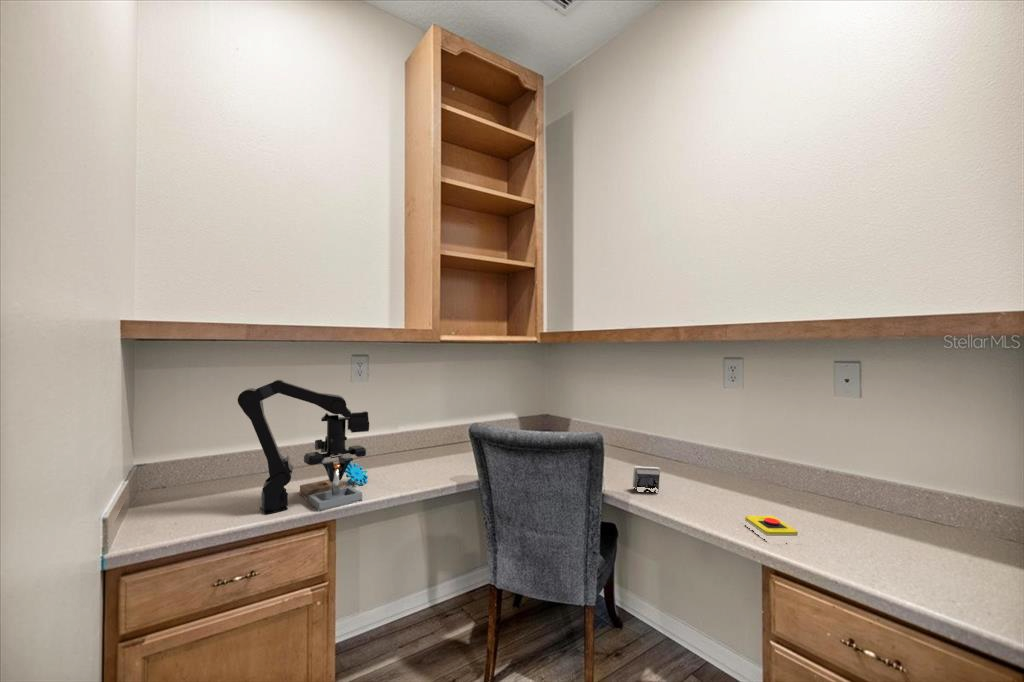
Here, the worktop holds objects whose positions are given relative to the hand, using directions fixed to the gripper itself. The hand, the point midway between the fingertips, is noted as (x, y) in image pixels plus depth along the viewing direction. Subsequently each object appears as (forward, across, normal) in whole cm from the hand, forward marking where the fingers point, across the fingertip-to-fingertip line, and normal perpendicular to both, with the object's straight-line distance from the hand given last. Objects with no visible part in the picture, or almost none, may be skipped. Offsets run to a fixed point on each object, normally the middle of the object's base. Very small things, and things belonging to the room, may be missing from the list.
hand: (335, 480), depth 146 cm
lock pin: (+4, 0, 0) cm, 5 cm away
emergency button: (+8, -81, +106) cm, 134 cm away
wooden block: (+7, 0, -12) cm, 14 cm away
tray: (+7, 0, 0) cm, 7 cm away
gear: (+7, -14, -14) cm, 21 cm away
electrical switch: (+7, -87, +65) cm, 109 cm away
